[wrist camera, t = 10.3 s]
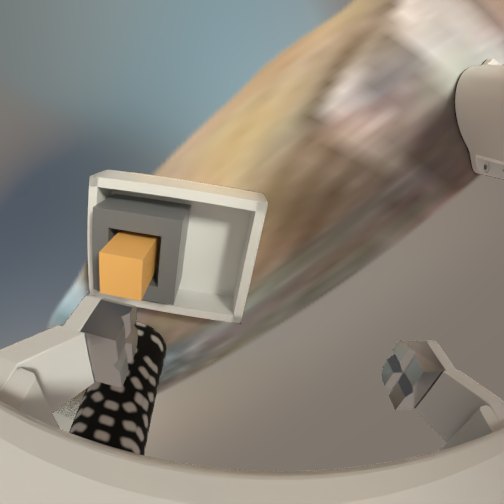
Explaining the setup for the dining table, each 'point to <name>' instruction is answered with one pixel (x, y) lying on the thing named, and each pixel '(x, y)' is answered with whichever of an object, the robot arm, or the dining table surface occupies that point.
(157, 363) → the white-spotted black cylinder
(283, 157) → the dining table surface
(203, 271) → the bay
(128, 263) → the plug
